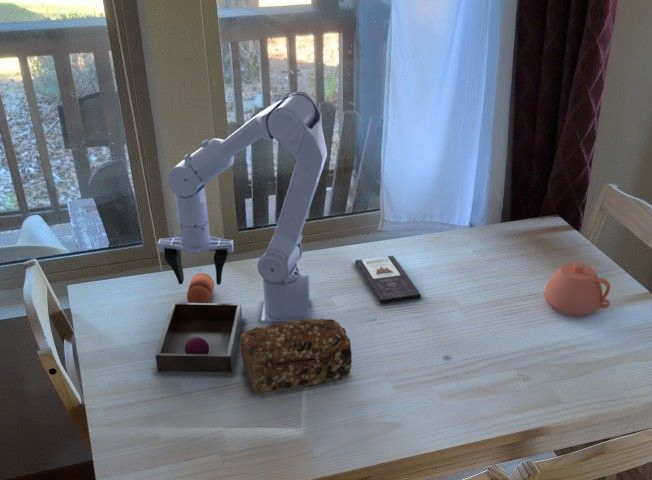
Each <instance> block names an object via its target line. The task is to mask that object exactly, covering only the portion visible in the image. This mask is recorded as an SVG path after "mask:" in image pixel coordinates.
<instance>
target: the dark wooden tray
mask: <svg viewBox="0 0 652 480" xmlns="http://www.w3.org/2000/svg"><path fill="white" fill-rule="evenodd" d="M242 323H243V310H242V303H219V302H218V303H217V302H215V303H214V302H209V303H189V302H172V304H171V307H170V310H169V313H168V316H167V319H166V322H165V325H164V328H163V331H162V334H161V337H160V340H159V343H158V346H157V350H156V351H155V354H154V355H155V356H154V357H155V363H156V368H157V372H162V373H163V372H167V373H168V372H170V373H171V372H173V373H174V372H175V373H176V372H177V373H179V372H181V373H187V372H188V373H233V369H234V368H233V367H234V363H235V358H236V352H237V349H238V348H237V347H238V343H239V339H240V332H241V327H242ZM193 337H201V338H203V339H204V340H206V341H207V343H208V345H209V353H208V354H186V352H185V345H186V343H187V341H188V340H189V339H191V338H193Z"/></svg>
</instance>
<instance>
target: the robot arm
mask: <svg viewBox="0 0 652 480" xmlns="http://www.w3.org/2000/svg"><path fill="white" fill-rule="evenodd" d="M322 121H323V114H322V112H321V110H320V109H319V107H318V105H317V104H316V103H315V101H314V99H313V98H311V96H309V95H308V94H306V93H303V92H294V93H293V92H292V93H291V94H289V95H288V96H287V97H286V98H285V100H284V101H283V99H281V100H279V101H277V102H275V103H273V104H271V105H270V106H268V107H265V109H263V110H261V111H260V112H259V113H257V114H256V115H255V116H253V117H251V119H250V120H248V121H247V122H246V123H244V124H243V125H241V127H239V128H238V129H237V130H236V131H234V132H232V133H231V134H230V135H229V136H228V137H227V138H225V139H221V138H212V139H208V138H206V139H205V140H204V141H202V142H201V143H200V148H199V149H197V150H196V151H194V152H193V153H187V154H186V155H184V157H183V160H181V161H180V162H179V163H177V164H176V166H174V167H172V168H171V170H170V171H169V173H168V175H167V184H168V187H169V189H170V191H172V193H174V198H175V206H176V215H177V223H178V230H179V236H177V237H176V236H175V237H168V238H159V239H158V242H157V246H158V247H157V248H158V252H159V253H164V256H163V259H164V260H165V262H166V263H167V264H168V265H169V267H170V268H171V270H172V271H173V273H174V276H175V277H176V279H177V283H178V285H183V284H184V280H185V276H184V269H183V264H182V252H187V253H188V254H190V255H197V254H199V253H200V252H214V254H213V262H214V267H215V280H216V285H217V286H218V285H219V286H220V285H221V284H222V276H223V268H224V266H225V263H226V261H227V259H228V254H233V253H234V249H235V247H234V240H233V239H226V238H220V237H216V236H215V237H214V236H211V235H210V234H211V233H210V225H209V216H208V215H209V214H208V206H207V205H208V203H207V196H206V187H205V186H206V184H207V183H209V182H211V181H212V180H214V179H215V178H216V177H218V176H219V175H221V174H222V173H224V172H225V171H227V170H228V169H229V168H231V167H232V166H233V165H234V163H235V155H237V154H238V153H240V152H241V151H243V150H244V149H246V148H247V147H249V146H251V145H252V144H254V143H255V142H257V141H258V140H260V139H262V138H263V139H265V140H267V141H268V142H272V141H273V140H275V141H277V143H278V144H280V146H282V147H283V148H284V149H285V150H286V151H288V153H290V154H291V155H292V156H293V158H294V159H295V165H294V168H293V171H292V175H291V178H290V182H289V185H288V188H287V191H286V195H285V196H284V197H285V198H284V201H283V204H282V207H281V210H280V214H279V217H278V221H277V224H276V227H275V230H274V233H273V235H272V238H271V240H270V241H269V244H268V245H267V249H266V251H265V253H264V254H263V255H262V256H261V257H260V258H259V259H258V261H257V265H256V266H257V272H258V273H259V275H260V277H261V278H262V287H263V307H262V312H261V319H260V320H261V321H262V322H291V321H294V320H301V319H310V310H311V309H312V299H311V298H310V297H311V290H310V289H311V288H310V286H311V285H310V274H308V273H303V272H300V270H299V267H298V262H299V260H301V258H302V256H303V247H302V240H303V238H304V237H303V234H302V233H303V231H304V226H305V224H306V221H307V218H308V215H309V211H310V209H311V205H312V202H313V199H314V196H315V194H316V191H317V187H318V184H319V182H320V178H321V175H322V172H323V169H324V166H325V164H326V160H327V157H328V149H327V144H326V141H325V140H326V139H325V135H324V131H323V124H322Z"/></svg>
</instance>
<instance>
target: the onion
mask: <svg viewBox="0 0 652 480" xmlns="http://www.w3.org/2000/svg"><path fill="white" fill-rule="evenodd" d="M185 352H186V354H208V353H209V345H208V343H207V341H206V340H204V339H203V338H201V337H193V338H191V339H189V340H188V341H187V343H186V345H185Z"/></svg>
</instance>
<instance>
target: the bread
mask: <svg viewBox="0 0 652 480" xmlns="http://www.w3.org/2000/svg"><path fill="white" fill-rule="evenodd" d="M239 346H240V354H241V358H242V364H243V368H244V371H245V374H246V376H247V379H248V382H249V385H250V387H251V389H252V391H253V393H254V394H263V393H264V394H265V393H266V392H270V391H271V392H272V391H279V390H280V391H281V390H286V389H291V388H296V387H302V386H303V387H309V386H314V385H320V384H322V383H327V382H329V381H334V380H338V379H339V380H340V379H346V378H348V377H349V376H350V373H351V369H352V364H353V363H352V362H353V361H352V359H353V357H352V352H353V351H352V347H351V339H350V337H348V335H347V332H346V329H345V328H344V327H343V326H341V324H340V322H338V321H336V320H334V319H332V318H328V319H326V318H309V319H301V320H294V321H281V322H278V323H271V324H268V325H266V326H265V325H264V326H259V327H254V328H251V329H249V330H245V331H244V332H242V334H241V335H240V336H239Z"/></svg>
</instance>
